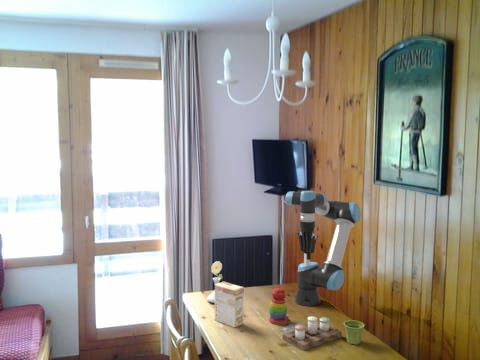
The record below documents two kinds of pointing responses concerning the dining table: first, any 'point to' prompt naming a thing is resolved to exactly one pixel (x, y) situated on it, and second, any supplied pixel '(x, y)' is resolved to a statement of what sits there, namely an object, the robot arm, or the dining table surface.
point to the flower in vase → (215, 269)
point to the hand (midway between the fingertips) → (306, 265)
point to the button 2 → (324, 324)
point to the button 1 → (300, 332)
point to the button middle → (312, 325)
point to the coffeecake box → (229, 304)
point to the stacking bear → (278, 307)
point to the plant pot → (353, 331)
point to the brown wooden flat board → (312, 338)
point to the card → (289, 328)
